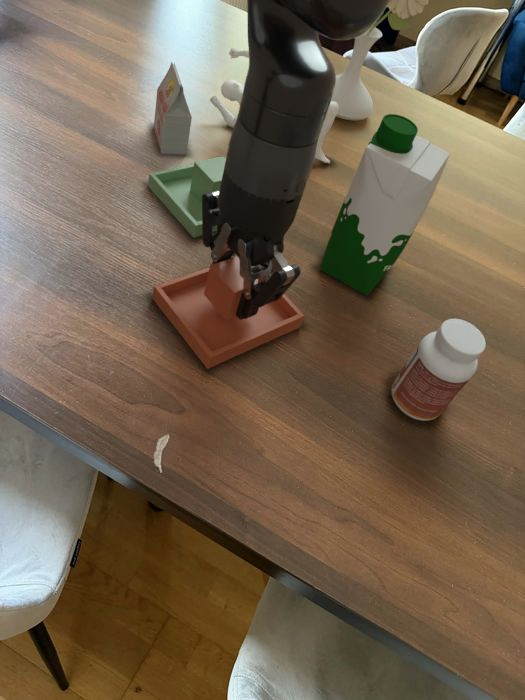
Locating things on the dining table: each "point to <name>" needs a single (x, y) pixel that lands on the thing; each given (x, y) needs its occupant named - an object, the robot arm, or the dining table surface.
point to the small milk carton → (172, 115)
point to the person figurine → (234, 93)
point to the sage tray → (179, 196)
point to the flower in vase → (348, 83)
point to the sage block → (207, 176)
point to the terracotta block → (225, 287)
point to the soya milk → (383, 204)
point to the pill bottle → (438, 369)
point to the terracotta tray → (220, 320)
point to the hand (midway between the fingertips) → (231, 299)
